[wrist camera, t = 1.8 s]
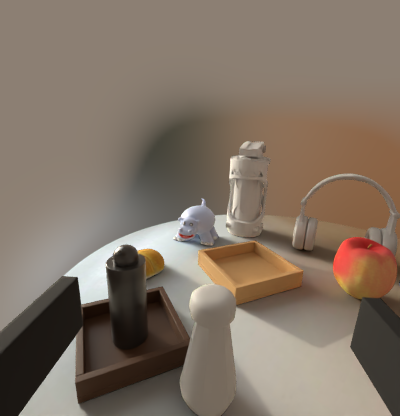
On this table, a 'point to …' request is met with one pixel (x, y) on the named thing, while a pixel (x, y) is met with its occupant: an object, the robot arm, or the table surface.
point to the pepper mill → (127, 297)
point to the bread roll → (152, 262)
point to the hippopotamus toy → (197, 225)
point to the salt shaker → (210, 352)
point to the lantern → (247, 190)
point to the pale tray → (249, 270)
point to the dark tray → (127, 358)
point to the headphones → (384, 236)
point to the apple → (365, 268)
